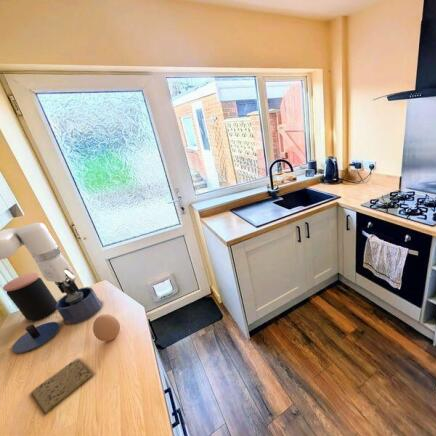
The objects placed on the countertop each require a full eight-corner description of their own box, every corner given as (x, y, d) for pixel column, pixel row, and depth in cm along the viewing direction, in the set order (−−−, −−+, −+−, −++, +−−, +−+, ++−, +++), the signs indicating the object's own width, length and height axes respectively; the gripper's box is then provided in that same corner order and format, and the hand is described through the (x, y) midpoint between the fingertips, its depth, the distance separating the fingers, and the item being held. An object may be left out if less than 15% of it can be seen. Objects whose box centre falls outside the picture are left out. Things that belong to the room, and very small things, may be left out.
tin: (58, 322, 103) (47, 307, 99) (87, 300, 113) (78, 286, 110) (80, 326, 99) (70, 310, 96) (108, 303, 110) (99, 288, 107)
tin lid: (5, 351, 92) (-6, 339, 89) (45, 322, 104) (37, 311, 101) (30, 356, 88) (20, 345, 86) (68, 326, 100) (61, 315, 97)
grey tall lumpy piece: (65, 307, 102) (50, 285, 97) (79, 297, 107) (66, 275, 102) (76, 309, 101) (61, 286, 96) (89, 298, 106) (76, 276, 101)
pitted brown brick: (31, 393, 76) (29, 391, 75) (77, 359, 85) (75, 358, 84) (44, 414, 70) (43, 412, 69) (92, 375, 79) (91, 373, 78)
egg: (125, 337, 91) (113, 316, 87) (101, 350, 87) (87, 329, 83) (122, 325, 97) (111, 305, 92) (99, 337, 93) (86, 316, 88)
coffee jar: (54, 301, 116) (33, 270, 108) (63, 308, 110) (41, 276, 103) (24, 317, 108) (-1, 285, 100) (32, 325, 102) (6, 292, 95)
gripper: (20, 258, 92) (46, 296, 100) (51, 261, 88) (76, 299, 96) (43, 248, 99) (65, 283, 107) (73, 249, 95) (94, 286, 102)
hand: (70, 291), depth 101 cm, fingers closed on grey tall lumpy piece, 3 cm apart
